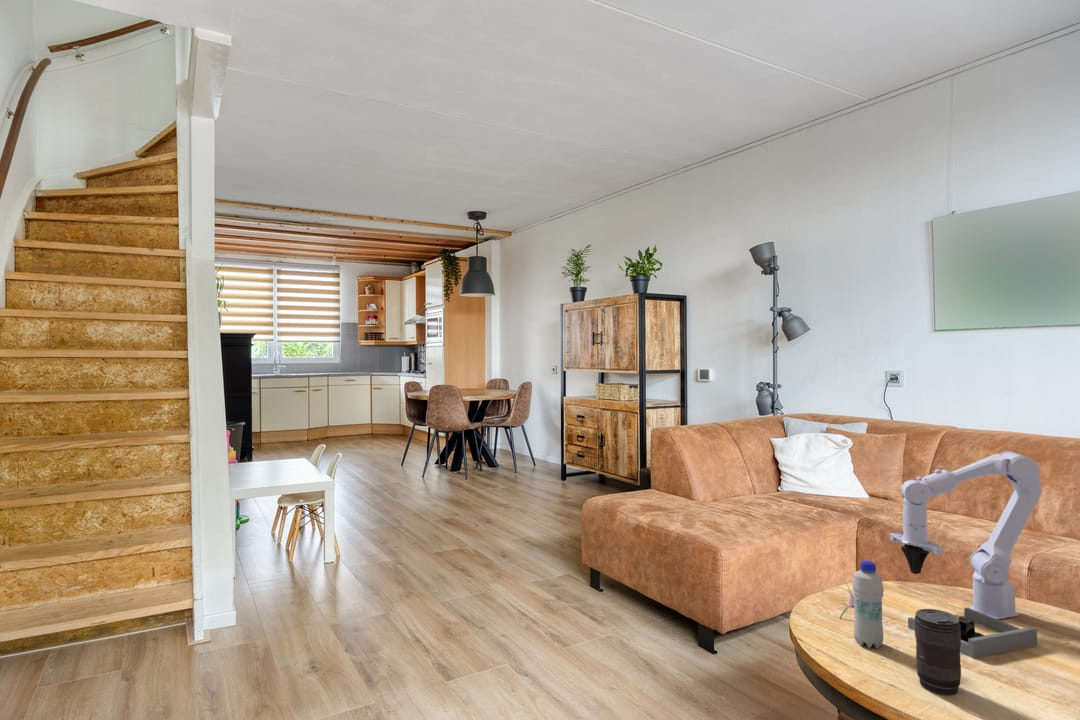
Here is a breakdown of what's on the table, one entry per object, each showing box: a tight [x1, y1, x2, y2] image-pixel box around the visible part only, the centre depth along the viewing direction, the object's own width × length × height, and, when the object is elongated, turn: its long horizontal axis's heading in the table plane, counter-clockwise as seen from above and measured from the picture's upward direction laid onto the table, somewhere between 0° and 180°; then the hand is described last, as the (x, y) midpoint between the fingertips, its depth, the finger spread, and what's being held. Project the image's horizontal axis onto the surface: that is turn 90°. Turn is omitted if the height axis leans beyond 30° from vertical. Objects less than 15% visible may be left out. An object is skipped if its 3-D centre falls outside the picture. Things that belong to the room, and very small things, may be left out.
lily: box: [839, 576, 854, 620], centre depth 161 cm, size 12×12×10 cm
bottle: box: [851, 560, 885, 649], centre depth 147 cm, size 7×7×20 cm
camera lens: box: [914, 608, 962, 696], centre depth 127 cm, size 8×8×15 cm
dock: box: [907, 607, 1038, 659], centre depth 150 cm, size 20×17×4 cm
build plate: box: [957, 615, 986, 642], centre depth 150 cm, size 12×7×5 cm, turn 120°
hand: (915, 572), depth 169 cm, fingers closed
